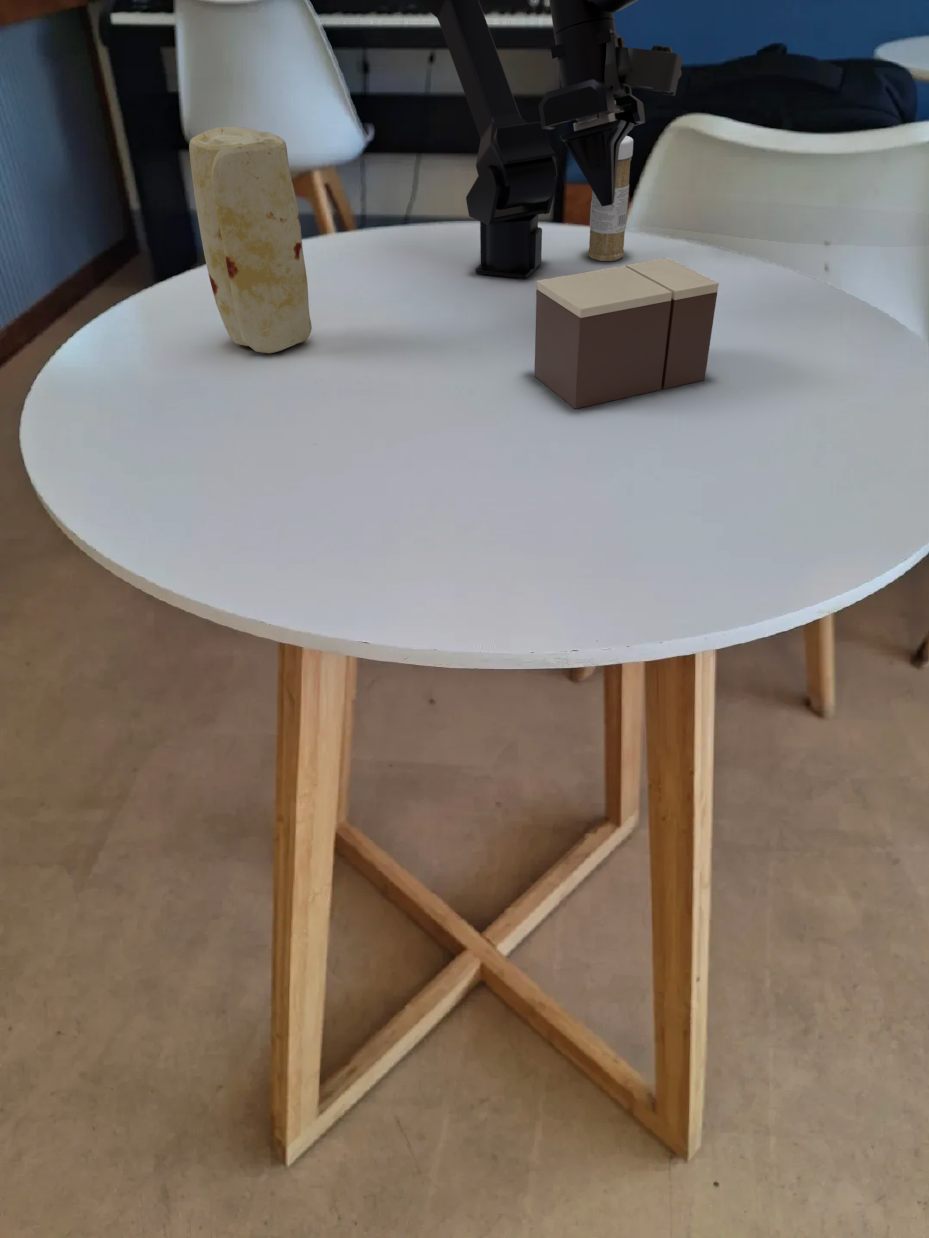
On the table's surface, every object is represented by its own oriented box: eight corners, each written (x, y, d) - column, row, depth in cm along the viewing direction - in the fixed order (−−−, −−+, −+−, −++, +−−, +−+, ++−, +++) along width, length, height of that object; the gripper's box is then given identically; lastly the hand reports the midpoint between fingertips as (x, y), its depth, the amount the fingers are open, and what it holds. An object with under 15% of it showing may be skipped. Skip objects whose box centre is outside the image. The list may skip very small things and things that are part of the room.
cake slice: (618, 358, 92) (626, 264, 86) (657, 350, 93) (667, 257, 87) (663, 389, 86) (675, 291, 80) (704, 380, 87) (718, 283, 82)
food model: (319, 331, 99) (294, 121, 86) (308, 357, 93) (279, 136, 81) (228, 332, 99) (190, 123, 87) (212, 357, 94) (169, 138, 82)
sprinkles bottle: (605, 248, 119) (613, 131, 110) (631, 257, 116) (642, 137, 108) (579, 256, 116) (585, 137, 108) (606, 265, 114) (614, 144, 105)
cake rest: (534, 375, 89) (536, 280, 83) (615, 358, 91) (623, 265, 86) (575, 409, 83) (580, 309, 77) (661, 389, 86) (672, 291, 80)
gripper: (650, -16, 77) (672, 187, 83) (685, 19, 93) (701, 187, 98) (524, 24, 82) (553, 214, 87) (577, 51, 98) (599, 210, 103)
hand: (607, 205), depth 94 cm, fingers closed
